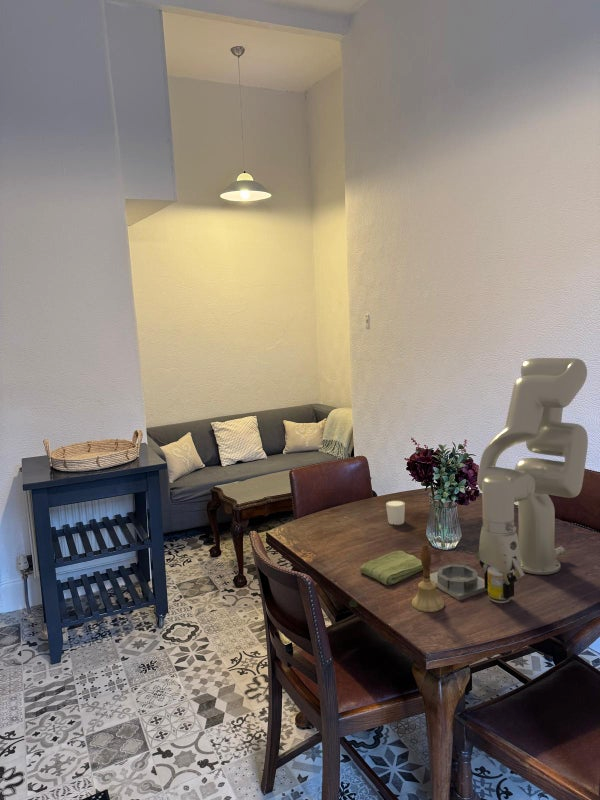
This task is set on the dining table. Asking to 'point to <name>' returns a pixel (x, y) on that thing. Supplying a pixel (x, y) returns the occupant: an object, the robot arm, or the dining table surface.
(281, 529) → the dining table surface
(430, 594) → the hand bell
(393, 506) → the white tapered cup
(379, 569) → the washcloth
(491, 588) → the supplement bottle
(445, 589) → the grey octagonal holder base
